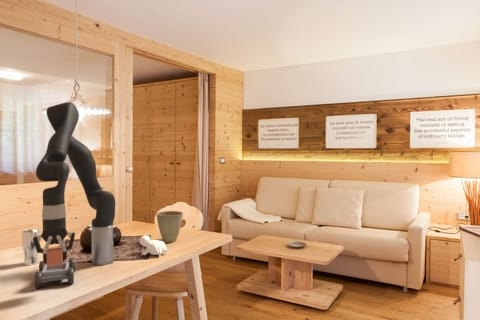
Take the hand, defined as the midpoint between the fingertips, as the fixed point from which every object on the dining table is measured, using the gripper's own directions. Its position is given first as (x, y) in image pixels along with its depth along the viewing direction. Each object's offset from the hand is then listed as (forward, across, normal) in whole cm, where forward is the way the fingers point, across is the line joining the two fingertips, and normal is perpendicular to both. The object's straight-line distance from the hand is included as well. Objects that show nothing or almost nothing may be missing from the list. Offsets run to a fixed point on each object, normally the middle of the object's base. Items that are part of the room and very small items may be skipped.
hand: (55, 261), depth 128 cm
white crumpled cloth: (+12, -41, -32) cm, 54 cm away
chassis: (+11, +1, -14) cm, 18 cm away
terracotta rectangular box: (+1, 0, 0) cm, 1 cm away
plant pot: (+13, -55, -53) cm, 78 cm away
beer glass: (+12, +12, -39) cm, 43 cm away
